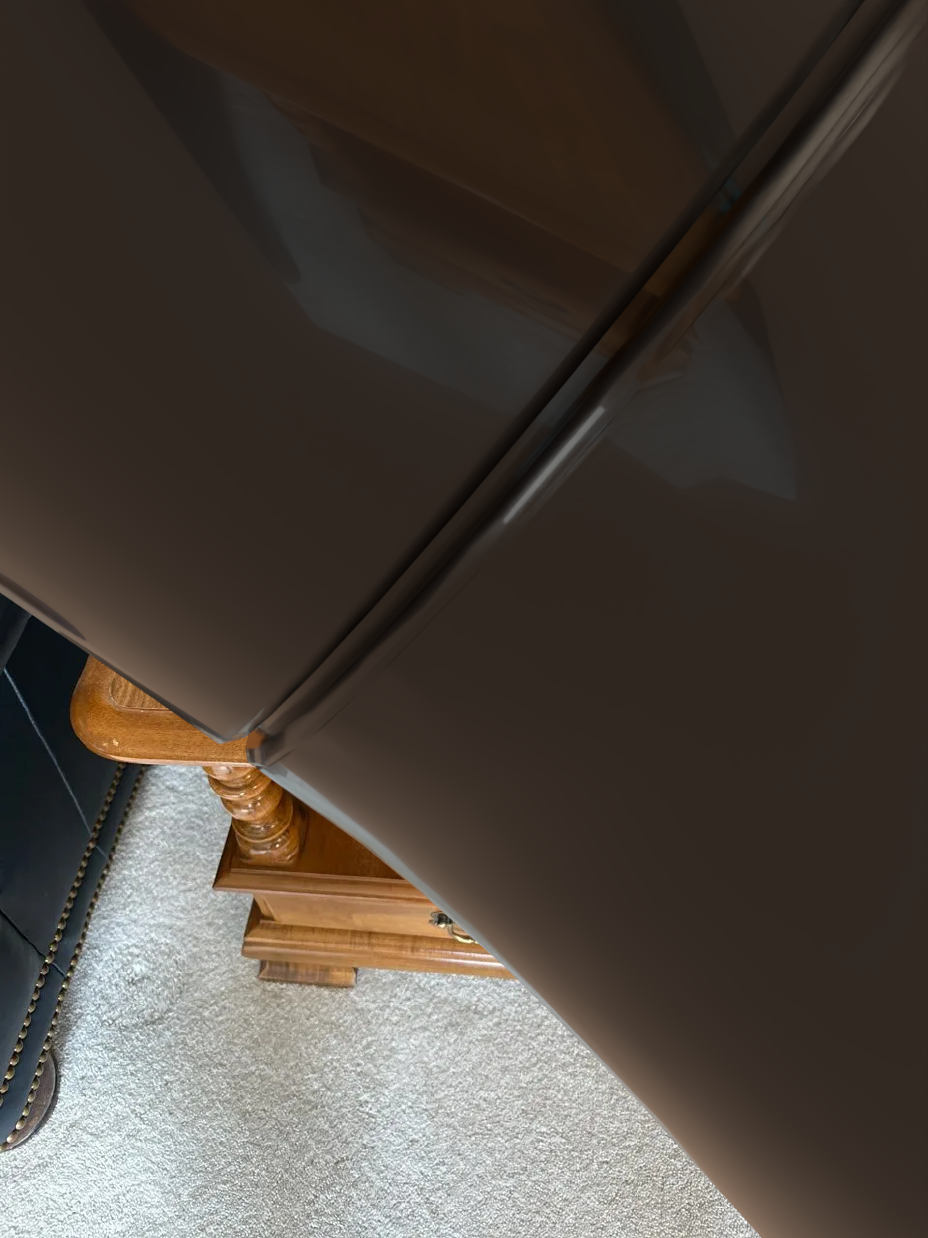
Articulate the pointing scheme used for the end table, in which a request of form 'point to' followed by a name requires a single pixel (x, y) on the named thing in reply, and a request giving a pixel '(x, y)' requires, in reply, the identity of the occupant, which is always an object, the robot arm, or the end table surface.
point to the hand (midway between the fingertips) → (567, 622)
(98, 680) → the end table surface
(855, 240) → the robot arm
